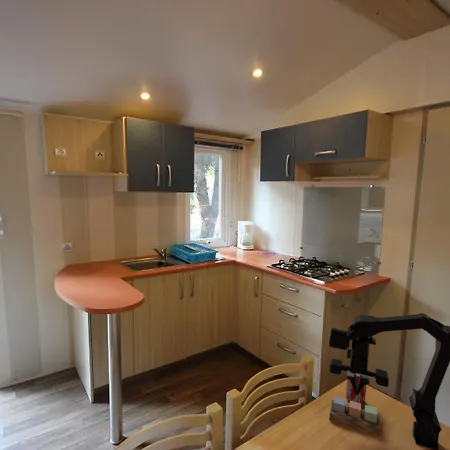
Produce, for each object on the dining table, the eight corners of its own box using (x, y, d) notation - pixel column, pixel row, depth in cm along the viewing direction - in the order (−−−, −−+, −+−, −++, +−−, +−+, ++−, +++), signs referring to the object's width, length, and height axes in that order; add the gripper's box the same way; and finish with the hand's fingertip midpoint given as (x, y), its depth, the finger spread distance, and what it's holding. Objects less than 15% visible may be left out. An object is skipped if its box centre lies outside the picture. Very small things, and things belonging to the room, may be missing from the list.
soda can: (362, 409, 119) (365, 379, 117) (343, 401, 123) (345, 372, 122) (367, 399, 124) (369, 371, 123) (348, 392, 129) (350, 364, 127)
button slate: (345, 406, 116) (345, 399, 116) (344, 413, 113) (345, 405, 112) (334, 403, 118) (334, 396, 117) (333, 410, 114) (333, 402, 114)
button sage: (376, 416, 112) (377, 408, 112) (376, 423, 108) (377, 415, 108) (364, 412, 113) (365, 404, 113) (364, 419, 110) (365, 411, 110)
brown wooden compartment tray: (378, 419, 114) (379, 413, 113) (379, 435, 106) (379, 428, 106) (331, 405, 120) (332, 399, 120) (329, 419, 113) (329, 413, 113)
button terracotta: (360, 411, 114) (361, 403, 114) (360, 418, 111) (360, 410, 110) (349, 408, 116) (349, 400, 115) (348, 414, 112) (349, 406, 112)
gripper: (388, 348, 114) (384, 389, 116) (334, 337, 121) (331, 375, 123) (390, 363, 104) (386, 407, 106) (330, 350, 111) (328, 391, 113)
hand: (356, 394), depth 112 cm, fingers closed
